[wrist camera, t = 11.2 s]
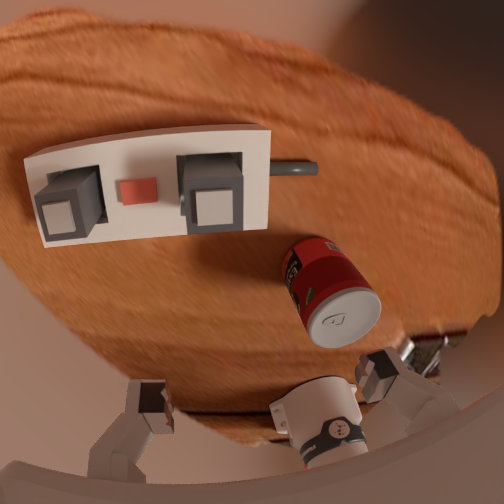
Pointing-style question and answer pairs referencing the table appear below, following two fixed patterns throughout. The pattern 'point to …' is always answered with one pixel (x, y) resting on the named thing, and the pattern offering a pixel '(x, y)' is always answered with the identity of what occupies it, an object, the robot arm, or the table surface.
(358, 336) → the canned food
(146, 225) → the pdu strip
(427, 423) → the robot arm
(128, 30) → the table surface
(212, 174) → the plug
